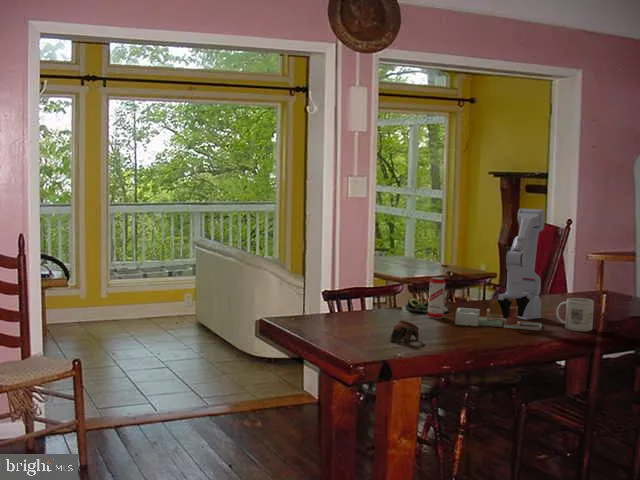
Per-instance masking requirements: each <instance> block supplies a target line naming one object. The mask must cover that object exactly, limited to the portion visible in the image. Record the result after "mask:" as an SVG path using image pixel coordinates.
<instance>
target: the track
mask: <svg viewBox="0 0 640 480" xmlns="http://www.w3.org/2000/svg"><path fill="white" fill-rule="evenodd" d="M486 317H487V316H478V326H487V327H498V328H499V327H501V328H502V327H503V328H505V329H514V330H515V329H517V330H529V331H541V330H542V331H543V327H542V326H543V325H542V322H530V321H521V320H520V321H518V320H517V322H520V326H516V325H504V321H503V320H486Z"/></svg>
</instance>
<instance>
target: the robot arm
mask: <svg viewBox="0 0 640 480" xmlns="http://www.w3.org/2000/svg"><path fill="white" fill-rule="evenodd" d="M545 220H546V213H545V210H544V209H543V208H542V209H539V208H537V209H535V208H523V207H520V208H519V209H518V211H517V222H518V225H519V230H518V235H517V236H515V237H514V239H513V242H512V245H511V248H510V250H509V251H507V252H506V254H505V263H506V270H507V275H506V276H507V277H506V291H505V292H504V293H499V294H498V295H497V302H498V304H499V306H500V309H501V315H503V318H506V319H508V317H509V309H510V306H511V307H512V303H513V301H511V300H515V301H516V307H518V319H522V320H533V319H534V320H535V319H541V318H543V316H542V315H541V314H542V313H541V312H542V299H541V298H540V297H539V295H540V294H541V289H542V288H541V287H542V284H541V283H542V281H541V276H540V275H539V274H537V273H536V272H535V269H536V259H537V248H538V241H539V234H540V232H542V231H544V228H545Z"/></svg>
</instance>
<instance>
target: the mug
mask: <svg viewBox="0 0 640 480" xmlns="http://www.w3.org/2000/svg"><path fill="white" fill-rule="evenodd" d="M594 301H595V300H593V299H590V298H586V297H585V298H583V297H569V298H567V299H566V301H562V302H560V303H559V304H558V305H557V308H556V311H555V314H556V318H557V320H558V321H559V322H560V323H561V324H564V328H565V329H567V330H570V331H575V332H576V331H577V332H591V331H592V330H593V323H594V322H593V320H594V319H593V318H594V308H595V307H594V306H595V302H594ZM563 305H565V307H566V308H565V320H563V319H562V318H561V317H560V314H559V310H560V308H561V306H563ZM590 330H591V331H590Z"/></svg>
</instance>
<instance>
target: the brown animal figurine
mask: <svg viewBox="0 0 640 480" xmlns="http://www.w3.org/2000/svg"><path fill="white" fill-rule="evenodd" d="M419 330H420V328H419V327H418V326H417V325H416V324H413V323H412V322H409V321H406V320H404V319H403V320H402V319H401V320H399V322H398V323H396V324H395V325H394V327H393V329H392V332H391V334H390V338H389V341H390V342H393V343H396V344H399V345H401V344H402V341H403V342H404V343H410V340H411V338H412V336H413V337H415V342H417V341H418V340H419V337H420V336H419Z"/></svg>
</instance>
